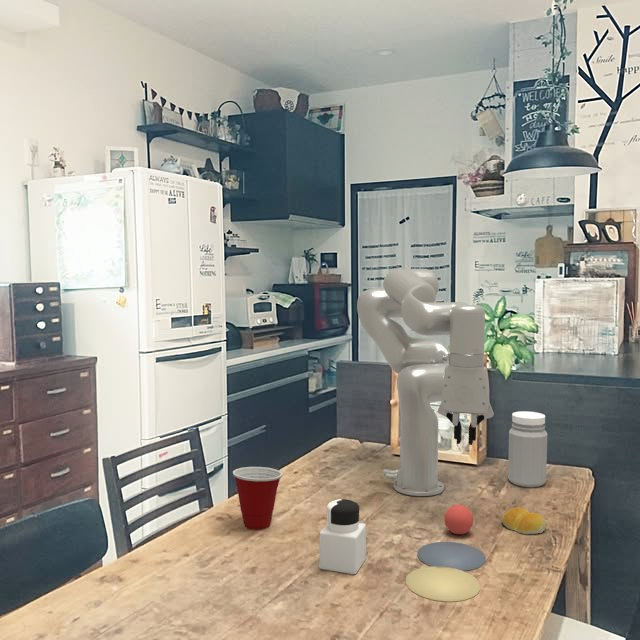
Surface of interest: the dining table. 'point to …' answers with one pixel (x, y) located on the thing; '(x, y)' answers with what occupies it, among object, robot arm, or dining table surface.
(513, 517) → the bread roll
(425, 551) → the smooth gray rounded object
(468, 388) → the robot arm
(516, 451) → the jar
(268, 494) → the plastic cup
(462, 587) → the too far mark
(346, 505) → the medicine bottle
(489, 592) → the dining table surface
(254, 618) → the dining table surface
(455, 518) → the ball
